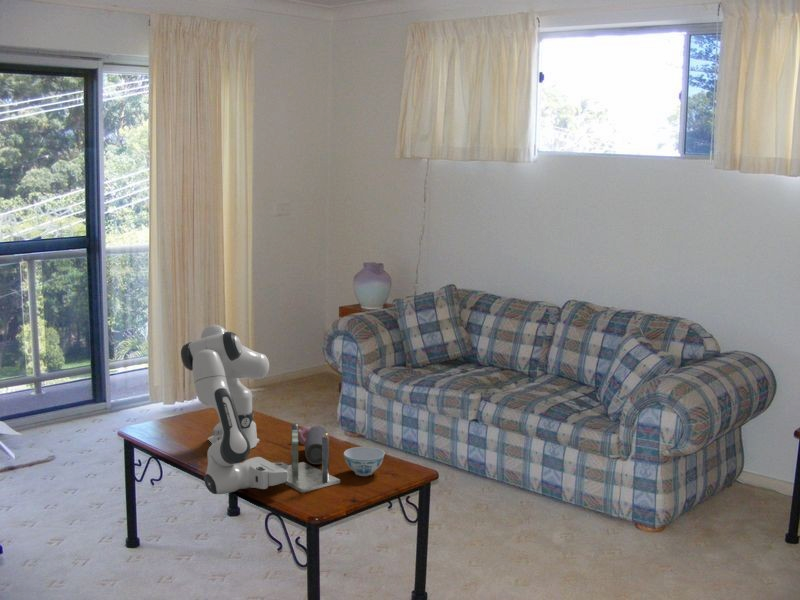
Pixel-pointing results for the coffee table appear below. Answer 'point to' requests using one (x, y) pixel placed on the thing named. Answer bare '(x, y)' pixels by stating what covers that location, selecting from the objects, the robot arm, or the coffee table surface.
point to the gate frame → (312, 471)
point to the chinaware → (364, 459)
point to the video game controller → (301, 434)
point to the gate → (295, 454)
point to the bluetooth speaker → (314, 444)
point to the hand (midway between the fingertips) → (285, 465)
